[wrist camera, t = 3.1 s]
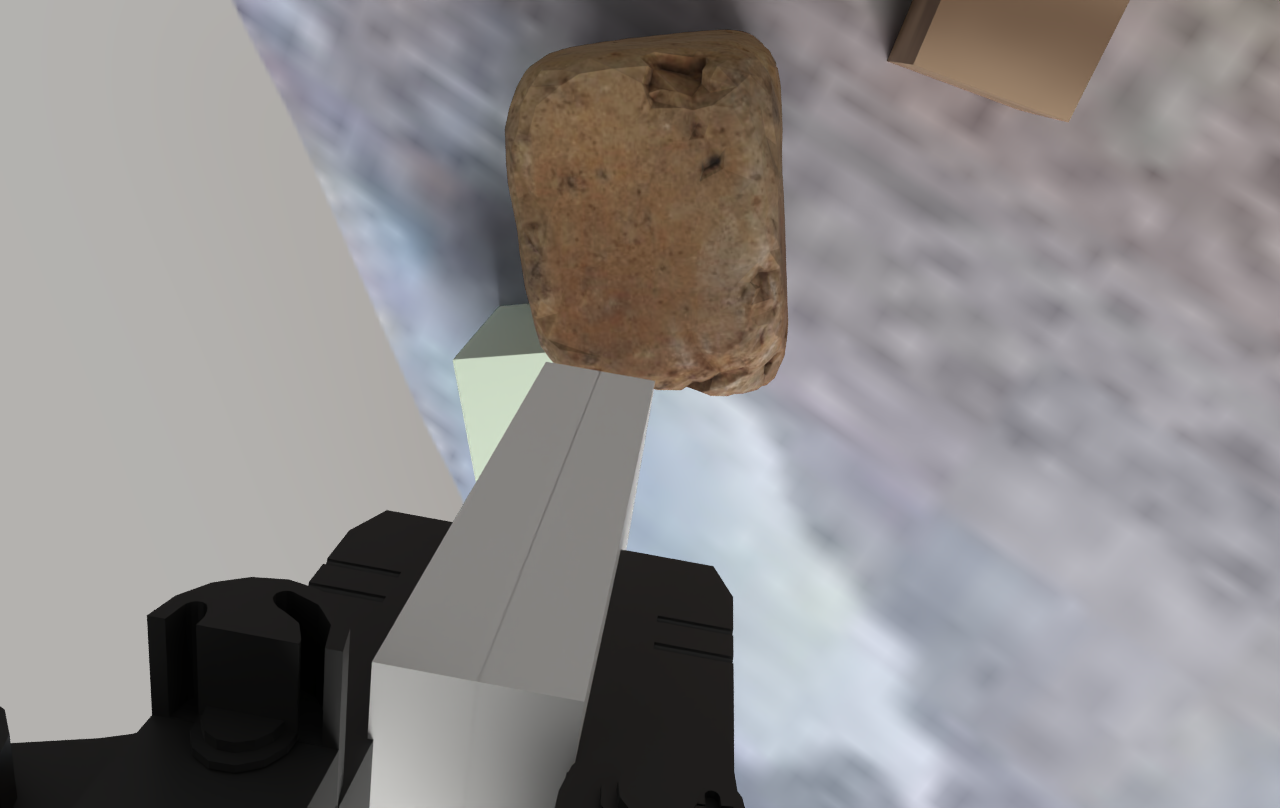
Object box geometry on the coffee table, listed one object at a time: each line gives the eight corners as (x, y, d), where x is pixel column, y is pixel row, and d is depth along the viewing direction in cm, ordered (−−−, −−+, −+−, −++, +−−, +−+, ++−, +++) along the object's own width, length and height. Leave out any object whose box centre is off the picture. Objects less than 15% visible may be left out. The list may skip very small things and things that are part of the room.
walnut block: (951, -93, 36) (990, -117, 31) (1092, -40, 37) (1156, -54, 31) (887, 61, 39) (913, 64, 33) (1020, 110, 39) (1068, 122, 33)
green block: (499, 305, 44) (452, 359, 37) (623, 295, 43) (601, 348, 36) (518, 422, 46) (478, 495, 39) (637, 413, 46) (619, 486, 38)
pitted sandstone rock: (591, 40, 39) (467, 42, 21) (769, 26, 39) (805, 15, 20) (612, 289, 43) (524, 477, 25) (774, 281, 42) (808, 470, 24)
